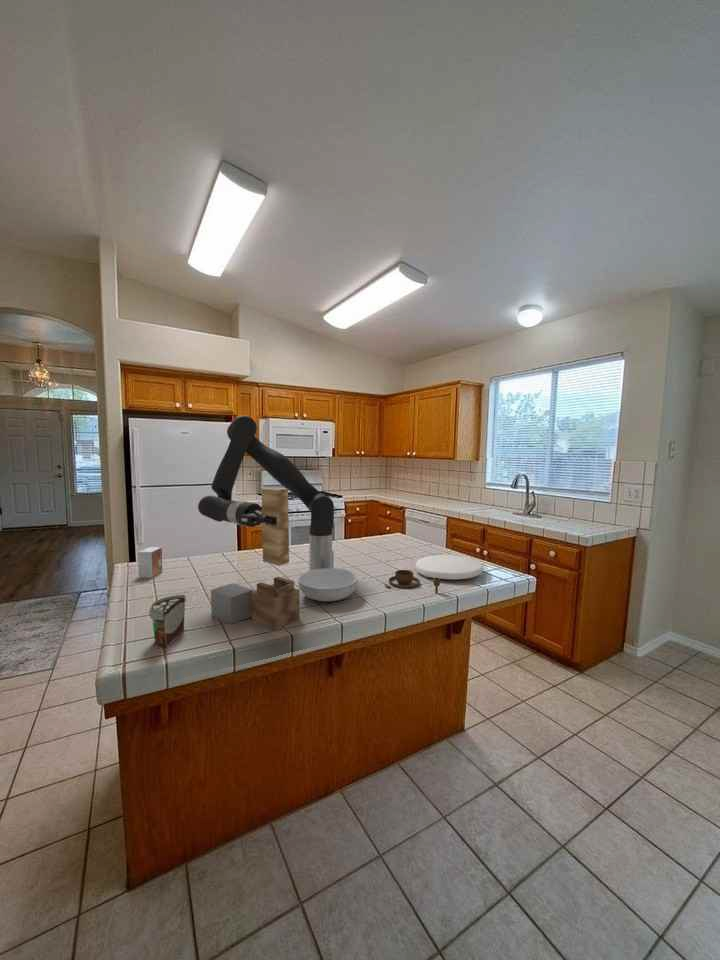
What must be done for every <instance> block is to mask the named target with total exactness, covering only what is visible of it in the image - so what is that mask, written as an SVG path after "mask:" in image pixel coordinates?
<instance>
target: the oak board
mask: <svg viewBox="0 0 720 960" xmlns="http://www.w3.org/2000/svg"><path fill="white" fill-rule="evenodd" d="M260 489H261V508H262V514H263V515H266V516H272V517H276V519H277V524H276V525H271V524H261V525H262V526H261V527H262V528H261V530H262V536H261V537H262V539H261V540H262V562H264V563H268V564H271V565H274V566H278V567H279V566H280V567H281V566H282V565H285V564H289V563H290V538H289V537H290V535H289V534H290V531H289V529H290V527H289V519H288V516H289V490H288V489H286V488H285V487H284V488H283V487H282V488H281V487H274V486H273V487H272V486H271V487H264V488H260Z"/></svg>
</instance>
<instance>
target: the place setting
mask: <svg viewBox="0 0 720 960" xmlns="http://www.w3.org/2000/svg"><path fill="white" fill-rule="evenodd" d="M432 579H433V582H432V583H433V586H434V587H435V589H434V591H435V592H434V594H439V593H438V592H439V586H440V585H441V579H440V578H432ZM393 581H396V582H398V584H397V583H393ZM388 582H389V584H390V585H389V584H387V583H385V582H383V585H385V587H386V588H387V589H390V588H392V587H394V588H397V589H414V588H417V587H419V585H420V583H421V581H420V579H418V578H417V577H415V576H414V572H413V571H411V570H409V569H399V570H395V575H393V576H391V577H389V578H388ZM412 582H415V583H416V584H415V583H414V584H411V583H412ZM410 584H411V585H410ZM391 586H392V587H391ZM385 587H384V588H385Z"/></svg>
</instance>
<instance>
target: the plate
mask: <svg viewBox="0 0 720 960" xmlns="http://www.w3.org/2000/svg"><path fill="white" fill-rule="evenodd" d="M415 570H416V572H417V573H419V575H422V576H424V577H427V578H432V579H433V578H440V580H441V579H442V580H466V579H471V578H475V577H479V576H481V574H482V573H483V571H484V565H483V562H481V561H480V560H478V559H475V558H473V557H468V556H461V555H450V554H438V555H437V554H436V555H430V556H425V557H422V558H420V559H418V560H417V561H415Z"/></svg>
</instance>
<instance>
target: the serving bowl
mask: <svg viewBox="0 0 720 960" xmlns="http://www.w3.org/2000/svg"><path fill="white" fill-rule="evenodd" d="M358 579H359V577H358V575H357V574H356V573H355V572H353V571H350V570H347V569H343V568H324V569H316V570H311V571H309V570H308V571H306V572H303V573H302V574H300V575H299V576H298V578H297V583H298V587H299V590H300V591H301V592H302V594H304V595H305V597H308V599H312V600H315V601H319V602H334V601H335V602H336V601H340V600H343V599H345V598H348V597H349V596H350V595H352V594H353V593H354V591H355V590H356V588H357V585H358V581H359V580H358Z"/></svg>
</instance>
